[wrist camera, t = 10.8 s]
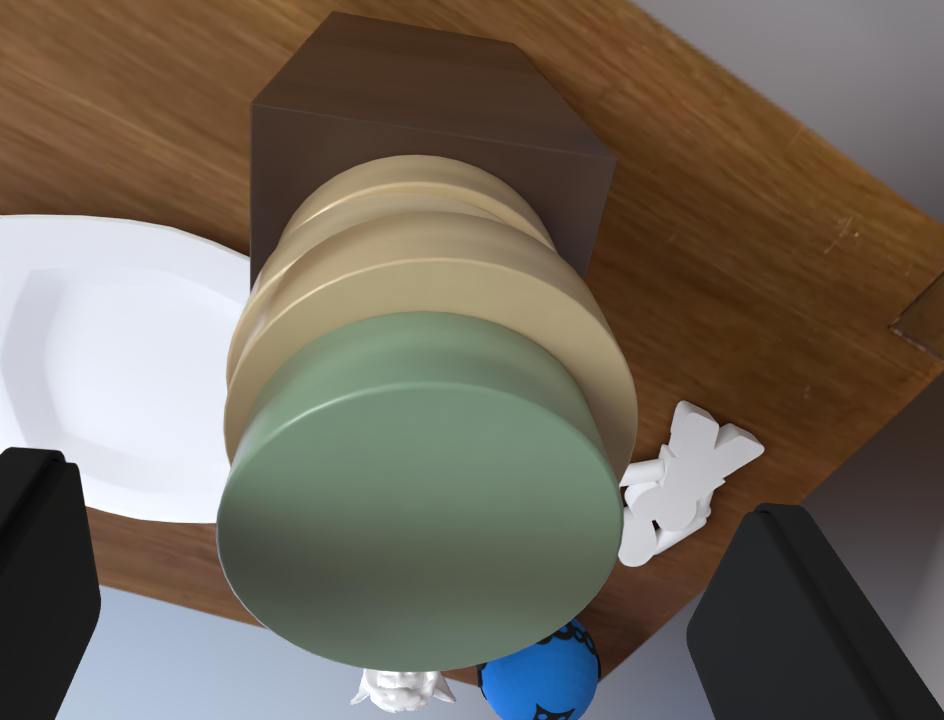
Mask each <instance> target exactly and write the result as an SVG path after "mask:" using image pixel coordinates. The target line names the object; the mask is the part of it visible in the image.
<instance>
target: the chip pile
mask: <svg viewBox="0 0 944 720" xmlns="http://www.w3.org/2000/svg"><path fill="white" fill-rule="evenodd" d="M417 311H430V312H448V313H454V314H460V315H466V316H472V317H476V318H479V319H483V320H486V321H489V322H493V323H496V324H499V325H501V326H503V327H506V328H508V329H510V330H512V331H515V332H517V333H519V334H521V335H523V336H524V337H526V338H528V339H529V340H531V341H533V342H534V343H536V344H538V345H539V346H541V347H542V348H543V349H544V350H546V351H547V352H548V353H549V354H551V355H552V356H553V357H554V358H555V359H557V360H558V361H559V362H560V363H561V365H562V366H563V367H564V368H565V369H566V370H567V371H568V372H569V373H570V374H571V376H572V377H573V379H574V380H575V382H576V383H577V385H578V386H579V388H580V389H581V391H582V392H583V394H584V397H585V399H586V401H587V403H588V406H589V408H590V410H591V413H592V416H593V418H594V421H595V424H596V426H597V429H598V432H599V434H600V437H601V440H602V442H603V445H604V448H605V450H606V453H607V456H608V458H609V461H610V464H611V466H612V469H613V471H614V474H615V477H616V479H617V482H618V485H619V484H620V483H621V481H622V478H623V476H624V474H625V472H626V470H627V468H628V465H629V463H630V459H631V456H632V452H633V449H634V446H635V441H636V433H637V425H638V407H637V396H636V392H635V387H634V382H633V378H632V375H631V373H630V370H629V367H628V365H627V362H626V360H625V357H624V355H623V353H622V351H621V349H620V347H619V345H618V343H617V341H616V339H615V337H614V335H613V333H612V331H611V329H610V327H609V325H608V323H607V321H606V319H605V317H604V315H603V313H602V311H601V309H600V307H599V305H598V303H597V302H596V300H595V298H594V297H593V295H592V293H591V292H590V290H589V288H588V286H587V285H586V284H585V282H584V281H583V280H582V279H581V277H580V276H579V275H578V274H577V272H576V271H575V270H574V269H573V268H572V267H571V266H570V265H569V264H568V263H567V262H566V261H565V260H564V259H563V258H561V257H560V256H559V255H558V253H557V251H556V248H555V246H554V244H553V242H552V240H551V237H550V235H549V233H548V231H547V229H546V228H545V226H544V224H543V223H542V221H541V219H540V218H539V216H538V215H537V214H536V212H535V211H534V210H533V209H532V207H531V206H530V205H529V204H528V202H527V201H526V200H525V199H524V198H522V197H521V196H520V195H519V194H518V193H517V192H516V191H515V190H514V189H513V188H511V187H510V186H509V185H507V184H506V183H504V182H503V181H502V180H500V179H499V178H497V177H495V176H494V175H492V174H490V173H488V172H486V171H484V170H482V169H480V168H478V167H475V166H472V165H470V164H467V163H464V162H461V161H458V160H453V159H449V158H444V157H439V156H428V155H401V156H392V157H387V158H381V159H376V160H373V161H370V162H367V163H364V164H360V165H357V166H355V167H353V168H351V169H349V170H347V171H345V172H342V173H340V174H338V175H337V176H335V177H334V178H332V179H331V180H329V181H328V182H326V183H325V184H323V185H322V186H320V187H319V188H318V189H317V190H316V191H315V192H313V193H312V194H311V195H310V196H309V197H308V198H307V199H306V200H305V201H304V202H303V203H302V205H301V206H300V207H299V208H298V209H297V211H296V212H295V213H294V214H293V216H292V217H291V219H290V221H289V222H288V224H287V226H286V227H285V229H284V231H283V233H282V235H281V238H280V240H279V243H278V245H277V247H276V250H275V251H274V252H273V253H272V254H271V256H270V257H269V258H268V260H267V261H266V263H265V265H264V266H263V268H262V270H261V271H260V273H259V275H258V277H257V279H256V281H255V284H254V286H253V288H252V291H251V293H250V295H249V298H248V300H247V302H246V305H245V307H244V309H243V312H242V314H241V316H240V319H239V321H238V324H237V326H236V328H235V331H234V333H233V336H232V339H231V343H230V347H229V351H228V356H227V367H226V384H227V398H226V402H225V406H224V422H223V433H224V442H225V451H226V454H227V458H228V461H229V465H230V468H231V466H232V463H233V460H234V457H235V454H236V451H237V448H238V445H239V442H240V439H241V436H242V432H243V429H244V426H245V423H246V420H247V417H248V414H249V412H250V410H251V408H252V406H253V403H254V401H255V399H256V397H257V395H258V394H259V392H260V391H261V389H262V388H263V386H264V385H265V383H266V382H267V380H268V379H269V378H270V377H271V376H272V375H273V374H274V373H275V371H276V370H277V369H278V368H279V367H280V366H281V365H282V364H283V363H284V362H285V361H286V360H288V359H289V358H290V357H291V356H293V355H294V354H295V353H296V352H298V351H299V350H300V349H301V348H303V347H304V346H306V345H308V344H309V343H311V342H313V341H314V340H316V339H318V338H319V337H321V336H323V335H325V334H327V333H329V332H331V331H334V330H336V329H338V328H340V327H343V326H345V325H347V324H351V323H354V322H357V321H361V320H364V319H367V318H370V317H376V316H381V315H387V314H392V313H400V312H417Z"/></svg>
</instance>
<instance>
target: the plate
mask: <svg viewBox="0 0 944 720" xmlns="http://www.w3.org/2000/svg"><path fill="white" fill-rule="evenodd" d="M249 295H250V257H248V256H246V255H244V254H241V253H239V252H237V251H235V250H232V249H230V248H228V247H225V246H223V245H221V244H219V243H216V242H214V241H211V240H209V239H206V238H203V237H200V236H197V235H194V234H191V233H188V232H185V231H182V230H179V229H177V228H174V227H170V226H164V225H158V224H152V223H147V222H141V221H135V220H129V219H118V218H106V217H94V216H81V215H0V454H1V453H2V452H3V451H4V450H5V449H7V448H9V447H23V448H36V449H50V450H59V451H61V452H62V453H63V454H64V456H65V460H66V462H70V463H76V464H77V465H78V468H79V471H80V477H81V483H82V489H83V495H84V501H85V505H86V506H89V507H92V508H96V509H99V510H102V511H106V512H110V513H114V514H119V515H123V516H127V517H132V518H136V519H143V520H154V521H164V522H183V523H216V520H217V512H218V509H219V505H220V501H221V497H222V494H223V491H224V487H225V484H226V481H227V478H228V475H229V472H230V469H231V468H230V465H229V461H228V458H227V454H226V451H225V442H224V433H223V422H224V406H225V402H226V398H227V384H226V367H227V356H228V351H229V347H230V343H231V339H232V336H233V333H234V331H235V328H236V326H237V324H238V321H239V319H240V316H241V314H242V312H243V309H244V307H245V305H246V302H247V300H248V298H249Z"/></svg>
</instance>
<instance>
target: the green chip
mask: <svg viewBox="0 0 944 720" xmlns="http://www.w3.org/2000/svg"><path fill="white" fill-rule="evenodd" d="M623 528H624V510H623V501H622V497H621V493H620V489H619V485H618V482H617V479H616V477H615V474H614V471H613V469H612V466H611V464H610V461H609V458H608V456H607V453H606V450H605V448H604V445H603V442H602V440H601V437H600V434H599V432H598V429H597V426H596V424H595V421H594V418H593V416H592V413H591V410H590V408H589V406H588V403H587V401H586V399H585V397H584V394H583V392H582V391H581V389H580V388H579V386H578V385H577V383H576V382H575V380H574V379H573V377H572V376H571V374H570V373H569V372H568V371H567V370H566V369H565V368H564V367H563V366H562V365H561V363H560V362H559V361H558V360H557V359H555V358H554V357H553V356H552V355H551V354H549V353H548V352H547V351H546V350H544V349H543V348H542V347H541V346H539V345H538V344H536V343H534V342H533V341H531V340H529V339H528V338H526V337H524V336H523V335H521V334H519V333H517V332H515V331H512V330H510V329H508V328H506V327H503V326H501V325H499V324H496V323H493V322H489V321H486V320H483V319H479V318H476V317H472V316H466V315H460V314H454V313H448V312H430V311H417V312H400V313H392V314H387V315H381V316H376V317H370V318H367V319H364V320H361V321H357V322H354V323H351V324H347V325H345V326H343V327H340V328H338V329H336V330H334V331H331V332H329V333H327V334H325V335H323V336H321V337H319V338H318V339H316V340H314V341H313V342H311V343H309V344H308V345H306V346H304V347H303V348H301V349H300V350H299V351H298V352H296V353H295V354H294V355H293V356H291V357H290V358H289V359H288V360H286V361H285V362H284V363H283V364H282V365H281V366H280V367H279V368H278V369H277V370H276V371H275V373H274V374H273V375H272V376H271V377H270V378H269V379H268V380H267V382H266V383H265V385H264V386H263V388H262V389H261V391H260V392H259V394H258V395H257V397H256V399H255V401H254V403H253V406H252V408H251V410H250V412H249V414H248V417H247V420H246V423H245V426H244V429H243V432H242V436H241V439H240V442H239V445H238V448H237V451H236V454H235V457H234V460H233V463H232V466H231V469H230V472H229V475H228V478H227V481H226V484H225V487H224V491H223V494H222V497H221V501H220V505H219V509H218V512H217V520H216V542H217V550H218V556H219V559H220V562H221V566H222V569H223V572H224V575H225V577H226V579H227V581H228V583H229V585H230V586H231V588H232V590H233V592H234V594H235V595H236V596H237V598H238V599H239V600H240V602H241V603H242V604H243V606H244V607H245V608H246V609H247V610H248V611H249V612H250V613H251V614H252V615H253V616H254V617H255V618H256V619H257V620H258V621H259V622H260V623H261V624H262V625H264V626H265V627H266V628H268V629H269V630H270V631H272V632H273V633H274V634H276V635H277V636H279V637H281V638H282V639H284V640H286V641H287V642H289V643H291V644H293V645H294V646H296V647H298V648H300V649H303V650H305V651H307V652H309V653H311V654H313V655H316V656H320V657H322V658H325V659H328V660H331V661H334V662H338V663H341V664H345V665H350V666H354V667H358V668H364V669H371V670H377V671H389V672H433V671H444V670H452V669H458V668H464V667H470V666H474V665H478V664H481V663H485V662H489V661H493V660H496V659H499V658H502V657H505V656H507V655H510V654H513V653H515V652H518V651H520V650H522V649H524V648H527V647H529V646H531V645H533V644H535V643H537V642H539V641H540V640H542V639H544V638H546V637H547V636H549V635H551V634H552V633H554V632H555V631H557V630H558V629H560V628H561V627H562V626H564V625H565V624H567V623H568V622H569V621H570V620H572V619H573V618H574V617H575V616H576V615H577V614H578V613H580V612H581V611H582V610H583V609H584V608H585V607H586V606H587V605H588V604H589V602H590V601H591V600H592V599H593V598H594V597H595V596H596V595H597V593H598V592H599V590H600V589H601V587H602V586H603V585H604V583H605V582H606V580H607V579H608V577H609V575H610V573H611V571H612V569H613V567H614V565H615V562H616V560H617V556H618V553H619V550H620V547H621V543H622V536H623Z"/></svg>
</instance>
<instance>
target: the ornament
mask: <svg viewBox="0 0 944 720" xmlns="http://www.w3.org/2000/svg"><path fill="white" fill-rule="evenodd" d="M476 667H477V682H478V687H480V688H481V691H482V693H483V695H484V697H485V699H486V700H488V702H489V704H490V705H491V707H492V708H493V709H494V711H495V712H496V713H497V714H498V715H499V716H500V717H501V718H502V719H503V720H578V719H579V718H580V717H581V716H582V715H583V714H584V713H585V711H586V709H587V708H588V706H589V705H590V703H591V701H592V699H593V697H594V694H595V690H596V687H597V683H598V678H600V677H601V665H600V660H599V656H598V654H597V653H596V649H595V645H594V643H593V640H592V638H591V637H590V635H589V634H588V632H586V631H585V629H584V628H583V627H582V625H581V624H580V623H579V622H578V621H577V620H576V619H575V618H573V619H572V620H570V621H569V622H568V623H567V624H565V625H564V626H562V627H561V628H560V629H558V630H557V631H555V632H554V633H552V634H551V635H549V636H547V637H546V638H544V639H542V640H540V641H539V642H537V643H535V644H533V645H531V646H529V647H527V648H524V649H522V650H520V651H518V652H515V653H513V654H510V655H507V656H505V657H502V658H499V659H496V660H493V661H489V662H485V663H481V664H478V665H476Z"/></svg>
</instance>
